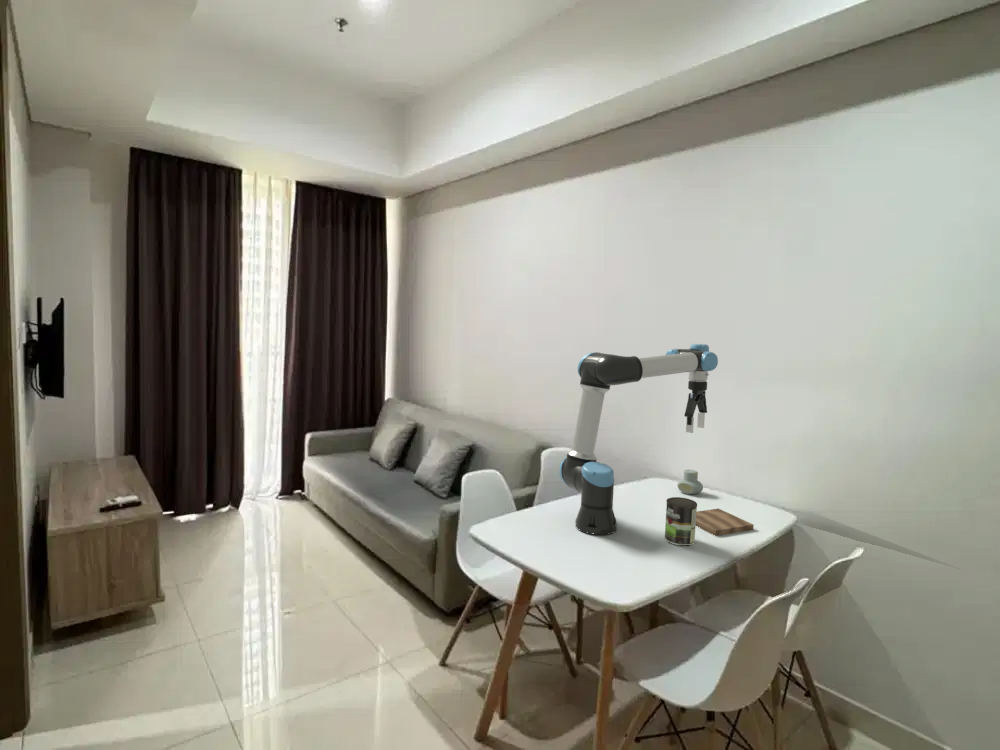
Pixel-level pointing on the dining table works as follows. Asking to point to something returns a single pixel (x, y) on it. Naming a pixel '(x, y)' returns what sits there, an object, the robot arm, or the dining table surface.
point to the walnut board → (721, 522)
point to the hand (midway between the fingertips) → (695, 429)
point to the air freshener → (690, 483)
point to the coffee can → (680, 521)
